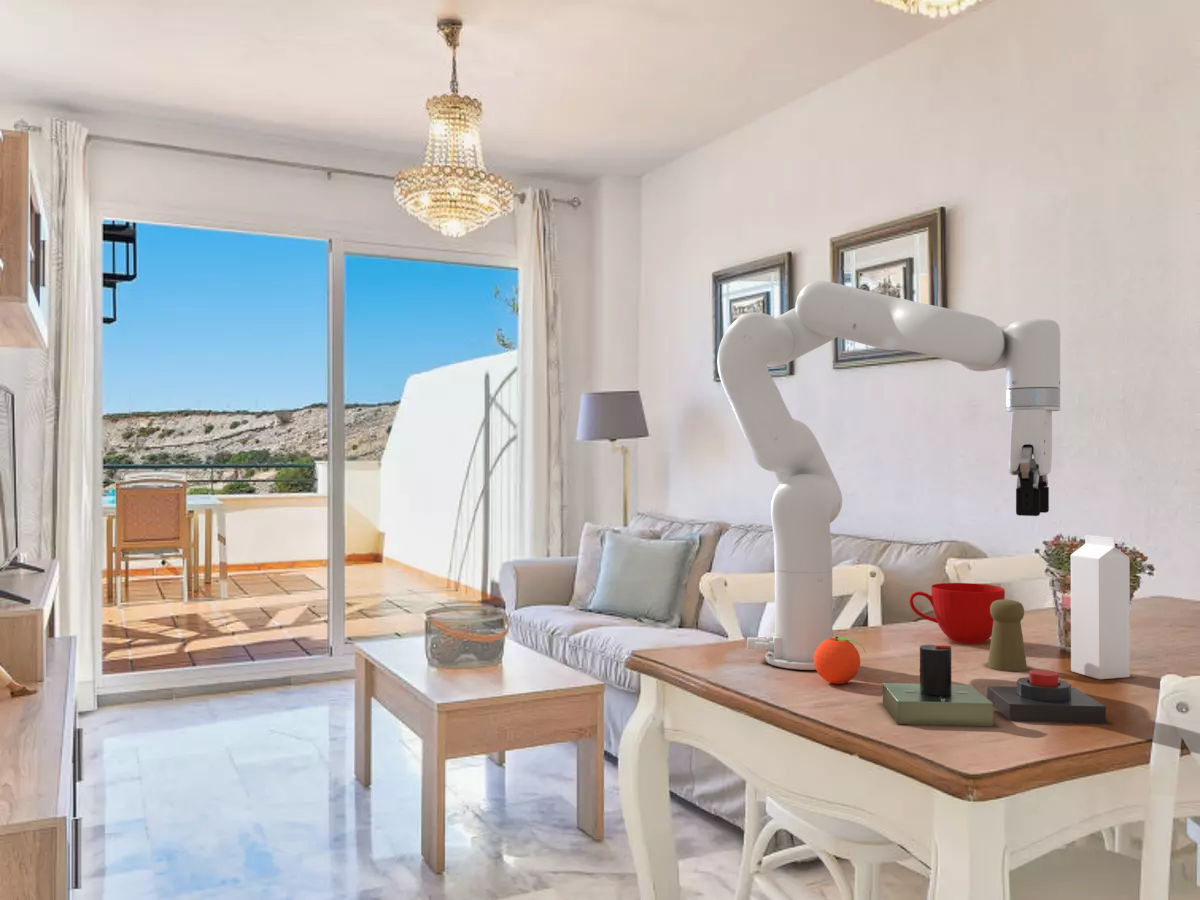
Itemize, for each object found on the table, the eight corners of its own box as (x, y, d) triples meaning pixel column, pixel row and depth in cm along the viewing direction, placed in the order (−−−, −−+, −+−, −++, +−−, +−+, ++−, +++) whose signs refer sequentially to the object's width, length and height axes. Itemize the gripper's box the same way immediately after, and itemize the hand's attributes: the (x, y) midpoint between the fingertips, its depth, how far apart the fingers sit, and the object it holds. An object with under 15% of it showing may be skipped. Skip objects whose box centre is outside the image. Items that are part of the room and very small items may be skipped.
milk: (1099, 680, 148) (1098, 538, 148) (1070, 671, 154) (1069, 534, 154) (1131, 677, 150) (1130, 536, 150) (1100, 668, 156) (1099, 533, 156)
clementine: (859, 677, 149) (859, 632, 149) (873, 688, 142) (873, 641, 143) (808, 678, 149) (808, 632, 149) (820, 688, 142) (820, 641, 142)
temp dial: (923, 695, 126) (923, 647, 126) (916, 688, 130) (916, 642, 130) (955, 696, 126) (954, 648, 126) (947, 688, 130) (946, 642, 130)
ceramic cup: (908, 631, 189) (907, 581, 189) (1000, 635, 184) (999, 584, 184) (910, 644, 176) (910, 590, 176) (1009, 649, 172) (1009, 593, 172)
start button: (1034, 688, 128) (1034, 675, 128) (1025, 682, 131) (1025, 669, 131) (1062, 688, 128) (1062, 675, 128) (1052, 682, 131) (1052, 669, 131)
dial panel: (897, 724, 124) (897, 699, 124) (882, 704, 134) (882, 681, 134) (993, 726, 122) (993, 702, 122) (971, 706, 132) (971, 683, 132)
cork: (1031, 671, 153) (1031, 603, 153) (991, 670, 155) (991, 602, 155) (1022, 663, 159) (1022, 598, 159) (984, 662, 161) (983, 596, 161)
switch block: (1010, 720, 125) (1010, 690, 125) (986, 701, 135) (986, 673, 135) (1105, 723, 124) (1105, 692, 124) (1075, 703, 134) (1075, 674, 134)
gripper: (1015, 404, 155) (1015, 510, 155) (996, 399, 140) (996, 516, 140) (1066, 403, 151) (1066, 512, 151) (1052, 397, 136) (1052, 518, 136)
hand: (1032, 513), depth 145 cm, fingers open, 9 cm apart
